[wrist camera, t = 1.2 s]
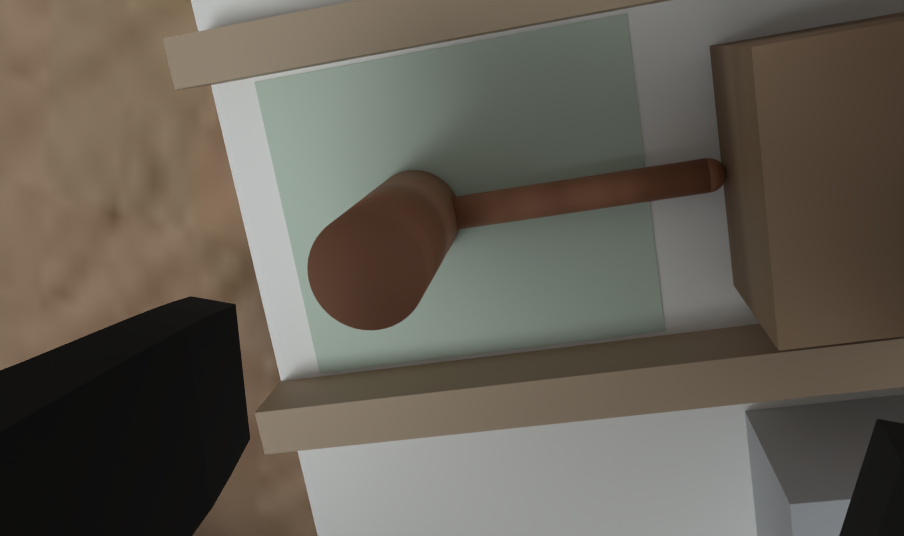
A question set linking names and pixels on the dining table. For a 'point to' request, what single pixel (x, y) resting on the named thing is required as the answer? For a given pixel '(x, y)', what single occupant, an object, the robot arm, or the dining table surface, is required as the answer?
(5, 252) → the dining table surface
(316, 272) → the wooden mallet
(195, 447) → the robot arm
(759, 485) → the grey block
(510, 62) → the wooden frame
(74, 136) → the dining table surface
